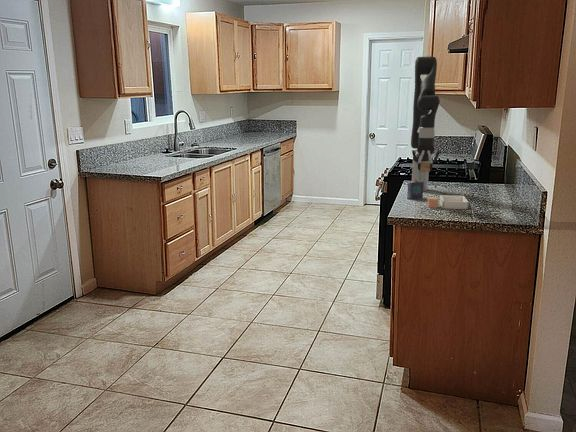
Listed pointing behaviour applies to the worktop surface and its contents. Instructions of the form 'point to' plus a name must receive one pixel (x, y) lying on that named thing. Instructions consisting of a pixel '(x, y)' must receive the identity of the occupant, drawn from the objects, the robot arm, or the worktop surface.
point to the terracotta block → (432, 202)
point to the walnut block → (425, 167)
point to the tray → (453, 202)
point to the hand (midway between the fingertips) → (424, 170)
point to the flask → (415, 189)
